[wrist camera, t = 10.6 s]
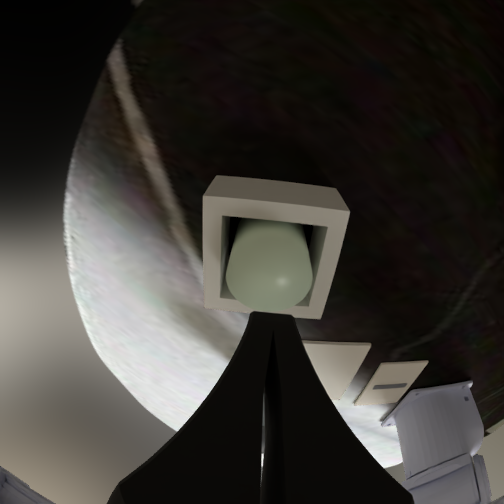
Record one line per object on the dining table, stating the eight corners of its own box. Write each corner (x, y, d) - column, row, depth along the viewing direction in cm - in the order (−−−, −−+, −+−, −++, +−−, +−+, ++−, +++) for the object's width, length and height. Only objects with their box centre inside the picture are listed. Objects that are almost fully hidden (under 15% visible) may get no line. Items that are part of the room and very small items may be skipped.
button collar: (336, 188, 14) (350, 211, 11) (314, 284, 17) (320, 319, 14) (216, 175, 14) (203, 195, 11) (214, 274, 17) (204, 308, 14)
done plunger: (309, 209, 14) (320, 246, 11) (298, 268, 16) (303, 315, 13) (238, 201, 14) (227, 237, 11) (234, 261, 16) (225, 307, 13)
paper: (370, 342, 19) (371, 345, 19) (339, 397, 24) (340, 399, 23) (250, 335, 20) (249, 339, 19) (243, 392, 24) (243, 395, 23)
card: (427, 360, 21) (428, 362, 20) (396, 401, 24) (396, 403, 24) (381, 362, 21) (382, 365, 20) (353, 404, 24) (354, 406, 24)
